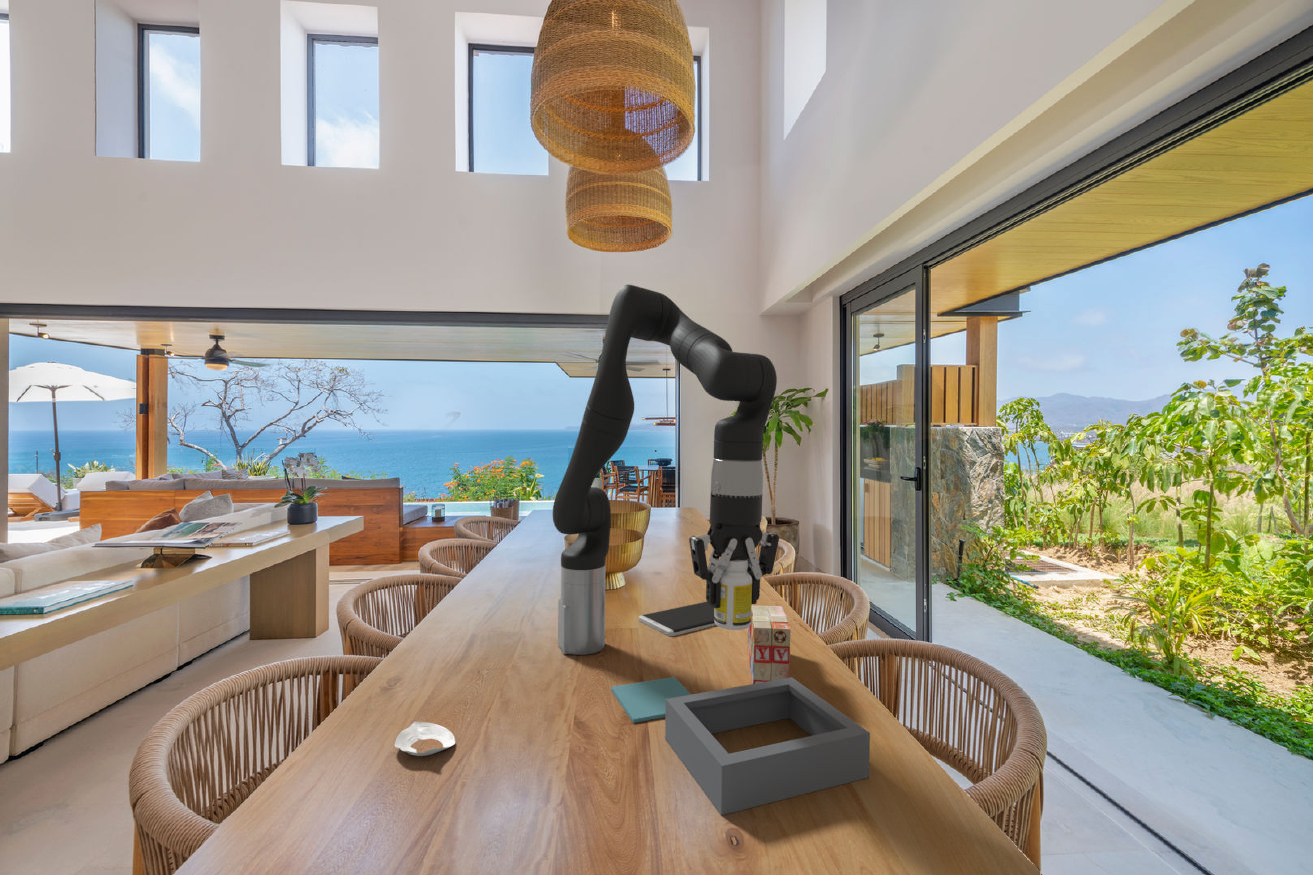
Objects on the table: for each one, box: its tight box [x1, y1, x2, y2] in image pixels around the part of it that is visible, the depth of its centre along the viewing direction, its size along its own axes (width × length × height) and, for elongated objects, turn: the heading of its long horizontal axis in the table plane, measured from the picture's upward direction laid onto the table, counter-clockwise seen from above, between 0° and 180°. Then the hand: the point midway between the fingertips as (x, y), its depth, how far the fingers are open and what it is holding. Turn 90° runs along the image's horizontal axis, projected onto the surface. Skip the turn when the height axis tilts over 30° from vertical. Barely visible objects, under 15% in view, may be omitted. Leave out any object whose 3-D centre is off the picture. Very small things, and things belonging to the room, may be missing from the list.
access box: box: [664, 677, 871, 816], centre depth 82 cm, size 22×18×6 cm
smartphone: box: [638, 601, 717, 637], centre depth 141 cm, size 13×27×2 cm, turn 126°
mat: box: [610, 676, 692, 724], centre depth 99 cm, size 12×12×1 cm
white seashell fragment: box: [394, 721, 456, 757], centre depth 84 cm, size 8×12×2 cm, turn 35°
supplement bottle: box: [714, 559, 753, 631], centre depth 86 cm, size 5×5×10 cm
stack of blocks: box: [747, 604, 791, 684], centre depth 111 cm, size 21×6×12 cm, turn 174°
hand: (732, 604), depth 86 cm, fingers closed on supplement bottle, 5 cm apart
